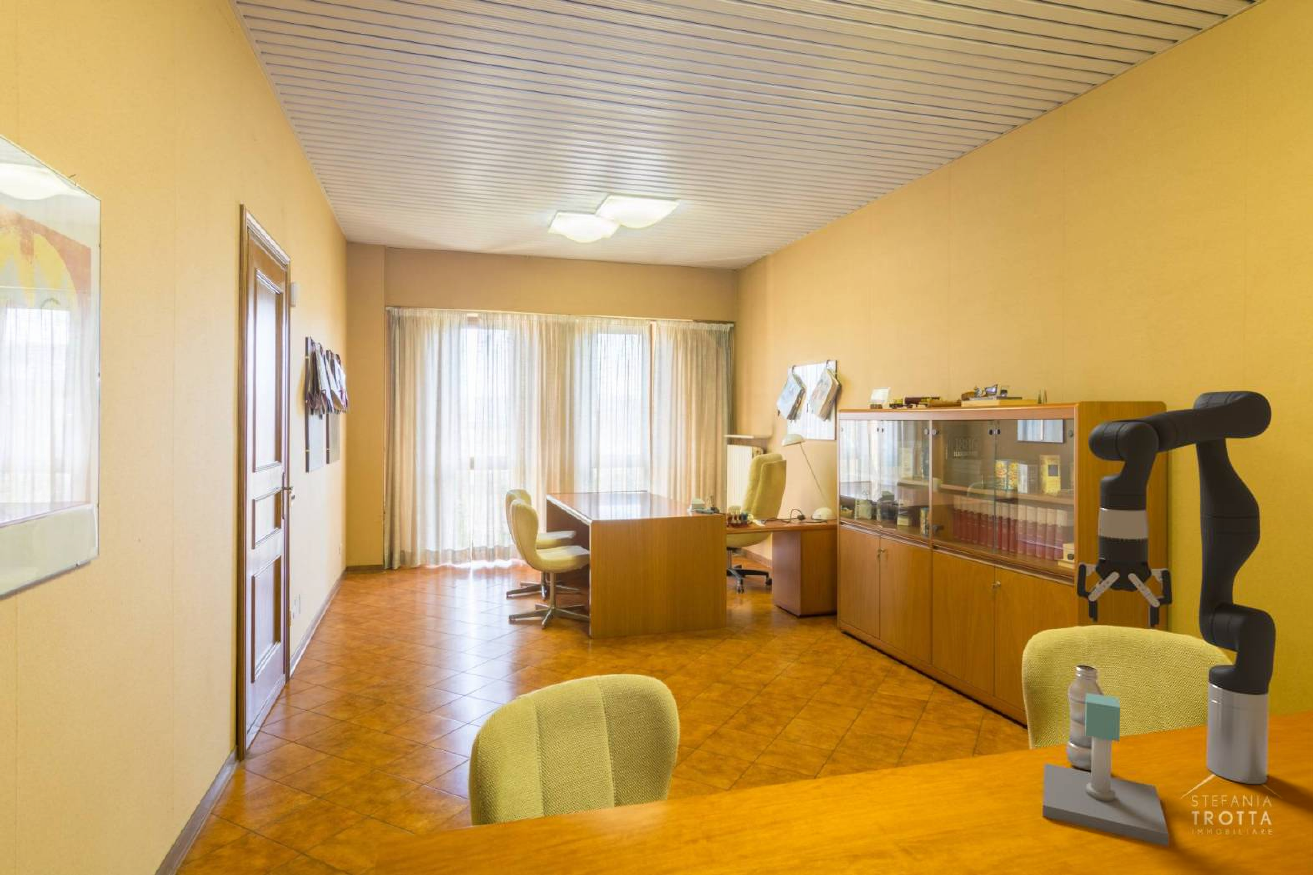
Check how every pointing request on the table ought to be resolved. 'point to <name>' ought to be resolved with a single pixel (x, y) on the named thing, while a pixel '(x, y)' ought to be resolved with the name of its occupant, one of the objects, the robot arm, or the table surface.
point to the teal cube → (1102, 717)
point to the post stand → (1103, 799)
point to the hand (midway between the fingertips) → (1122, 623)
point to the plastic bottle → (1081, 716)
